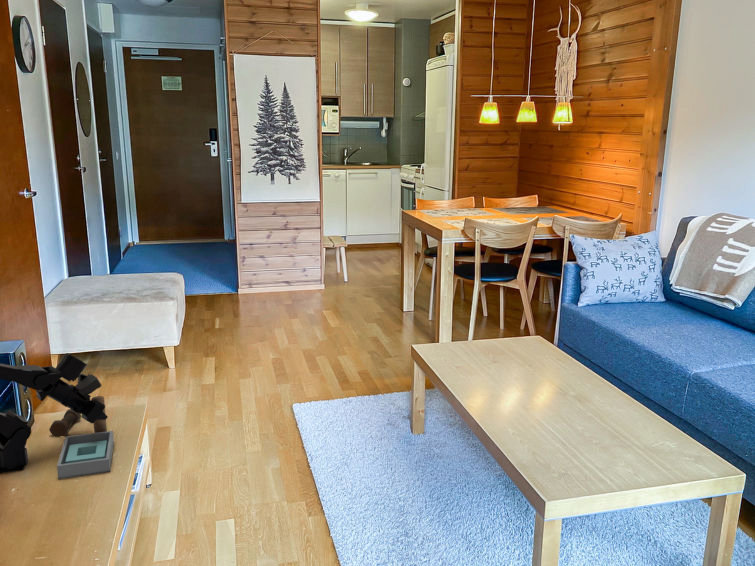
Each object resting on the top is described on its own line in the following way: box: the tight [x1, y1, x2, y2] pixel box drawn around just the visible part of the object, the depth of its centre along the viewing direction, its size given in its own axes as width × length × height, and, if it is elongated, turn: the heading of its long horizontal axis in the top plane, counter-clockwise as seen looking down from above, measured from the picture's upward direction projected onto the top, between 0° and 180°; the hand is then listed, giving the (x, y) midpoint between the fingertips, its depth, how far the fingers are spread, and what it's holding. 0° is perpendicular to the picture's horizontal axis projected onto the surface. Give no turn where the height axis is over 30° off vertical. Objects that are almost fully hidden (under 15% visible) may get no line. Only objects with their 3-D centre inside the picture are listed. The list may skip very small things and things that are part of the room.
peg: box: [90, 395, 108, 433], centre depth 191 cm, size 4×4×13 cm
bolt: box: [49, 408, 82, 438], centre depth 199 cm, size 6×5×15 cm
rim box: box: [56, 430, 115, 480], centre depth 178 cm, size 13×18×4 cm
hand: (103, 416), depth 192 cm, fingers closed on peg, 4 cm apart
